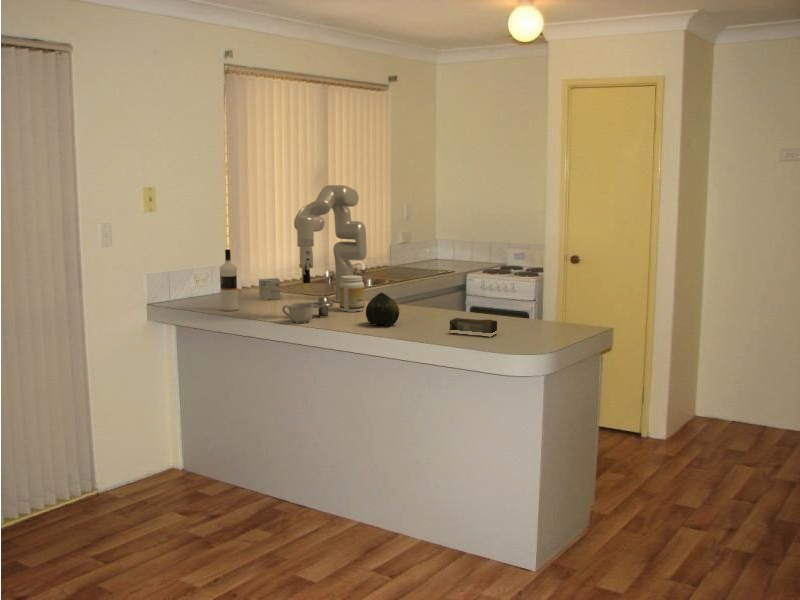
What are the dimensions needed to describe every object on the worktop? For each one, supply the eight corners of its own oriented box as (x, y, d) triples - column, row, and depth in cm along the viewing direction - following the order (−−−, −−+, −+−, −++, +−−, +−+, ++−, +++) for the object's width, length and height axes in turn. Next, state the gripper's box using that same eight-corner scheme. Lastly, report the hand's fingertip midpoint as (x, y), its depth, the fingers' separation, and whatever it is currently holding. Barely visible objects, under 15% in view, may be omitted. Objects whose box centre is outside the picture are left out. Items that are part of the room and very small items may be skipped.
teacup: (316, 320, 367) (316, 303, 366) (306, 325, 357) (306, 307, 356) (289, 318, 371) (289, 301, 370) (278, 323, 361) (278, 305, 360)
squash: (383, 317, 345) (395, 289, 352) (355, 315, 353) (367, 287, 360) (397, 335, 355) (408, 307, 362) (369, 332, 363) (381, 305, 370)
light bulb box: (278, 297, 434) (278, 278, 432) (280, 299, 428) (280, 279, 426) (258, 298, 431) (258, 278, 429) (260, 300, 425) (260, 280, 423)
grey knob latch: (330, 314, 384) (330, 295, 383) (334, 317, 375) (334, 298, 374) (294, 315, 379) (294, 297, 378) (298, 319, 370) (297, 300, 369)
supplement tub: (368, 309, 398) (368, 275, 395) (357, 313, 387) (357, 278, 384) (347, 307, 403) (346, 274, 400) (335, 311, 392) (334, 277, 389)
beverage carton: (455, 330, 346) (455, 315, 345) (497, 334, 339) (498, 319, 338) (448, 334, 339) (449, 318, 338) (492, 338, 332) (492, 322, 331)
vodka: (237, 311, 391) (235, 250, 386) (218, 311, 390) (216, 250, 385) (240, 308, 400) (238, 248, 395) (221, 308, 399) (219, 248, 395)
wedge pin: (310, 288, 376) (310, 263, 375) (312, 289, 373) (311, 264, 371) (299, 288, 375) (299, 264, 373) (300, 289, 372) (300, 264, 370)
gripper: (316, 244, 364) (317, 284, 367) (310, 241, 380) (310, 280, 382) (300, 244, 362) (301, 285, 365) (294, 242, 377) (295, 280, 380)
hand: (305, 282), depth 374 cm, fingers closed on wedge pin, 3 cm apart
